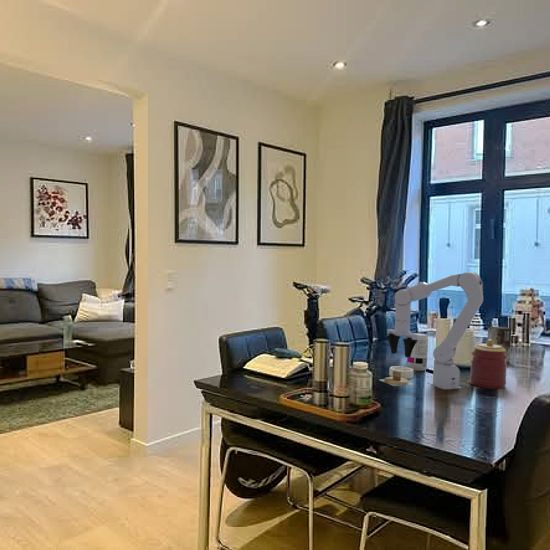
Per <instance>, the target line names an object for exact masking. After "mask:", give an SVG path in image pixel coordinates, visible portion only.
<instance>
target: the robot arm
mask: <svg viewBox="0 0 550 550" xmlns="http://www.w3.org/2000/svg"><path fill="white" fill-rule="evenodd" d="M483 285H484V282H483V281H482V279H481V276H480V275H479V274H478V273H476V272H474V271H466V272H463V273H458V274H453V275H450V276H446V277H444V278H441V279H439V280H436V281H434V282H431V283H427V282H425V281H423V282H422V281H419V282H417V284H415V285H412V286H406V287H405V289H399V290H398V291H396V293H395V294H394V302H395V313H394V314H395V317H394V328H393V329H392V328H387V330H386V331H387V332H386V333H387V335H386V339H387V341H388V343H389V346H390V353H391V354H395V355H396V354H397V352H398V346H399V341H400V338H401V337H402V338H403V339H402V341H403V344H404V357H405V358H407V357H410V356H411V353H412V350H413V348H414V346H415V344H416V343H417V334H414V333H415V332H412V331H411V313H412V311H411V310H412V309H411V308H412V307H411V306H412V302H417V301H420V300H422V299H426V298H428V297H430V296H431V295H432V292H436V291H439V290H442V289H445V288H448V287H456V288H457V287H460V288H461V289H462V290H463V291H464V294H465V296H466V299H467V300H466V303H465V305H464V306H463V308H462V309H461V311H460V312H459V314H458V316H457V317H456V320H455V321H454V323H453V325H452V326H451V328H450V329H449V331H448V333H447V335H446V336H445V338H443V340H442V341H441V343H440V344H439V345H438V346H436V347H435V348H434V349H433V351H432V355H433V358H434V359H433V372H432V381H429V382H427V384H429V385H431V386H434V387H437V388H439V389H442V390H455V389H457V390H458V389H461V388H462V387H461V386H460V378H461V376H460V375H461V371H460V368H459V367H458V366H456V365H455V361H454V359H453V358H454V357H455V355H456V349H457V347H458V345H459V343H460V340H461V339H462V337H463V335H464V334H465V332H466V331H467V329H468V327H469V326H470V324H471V323H472V321H473V319H474V317H475V315H476V314H477V312H478V311H479V309H480V307H481V305H482V304H483V302H484V290H483Z"/></svg>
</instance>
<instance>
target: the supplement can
mask: <svg viewBox="0 0 550 550" xmlns="http://www.w3.org/2000/svg"><path fill="white" fill-rule="evenodd" d="M413 333H414V334H417V343H416V344H415V346H414V348H413V350H412V353H411V356H410V357H406V367H409V368H412V369H414V372H415V371H416V372H420V371H421V372H423V371H425V370H426V369H427V368H428V349H429V338H428V334H426V333H421V332H413Z"/></svg>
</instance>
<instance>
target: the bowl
mask: <svg viewBox="0 0 550 550" xmlns="http://www.w3.org/2000/svg"><path fill="white" fill-rule="evenodd" d="M393 371H401V378H404V379H407V380H409V379H413V378H414V374H415V373H414V372H415V370H414V369H412V368H409V367H407V366H402V365H396V366H395V365H393V366H390V367H389V369H388V376H389V377H393Z"/></svg>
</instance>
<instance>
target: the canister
mask: <svg viewBox="0 0 550 550" xmlns="http://www.w3.org/2000/svg"><path fill="white" fill-rule="evenodd" d="M473 348H474V350H473V351H470V353H471V355H472V359H471V360H470V375H469V382H470V384H471V385H473V386H475V387H479V388H482V389H483V388H484V389H490V390H500V389H504V388H506V385H507V368H508V367H507V366H508V364H507V362H506V359H507V358H508V356H507V355H506V354H505V353H504V352H505V351H506V350H505V349H504V348H502V346H499V345H494V342H493V340H491V339H489V340H486V342H485V343H478V344H476V345H474V346H473Z"/></svg>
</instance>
